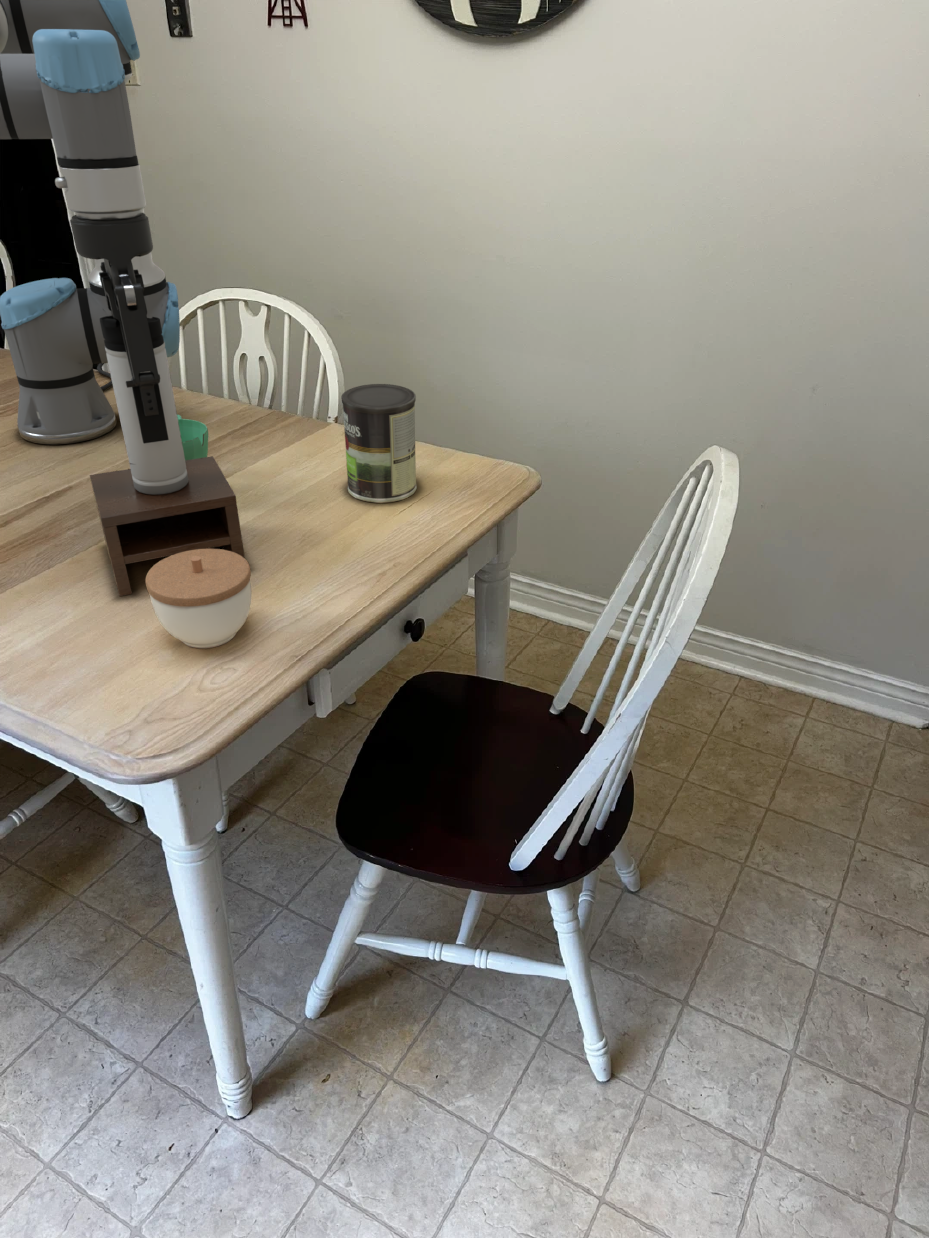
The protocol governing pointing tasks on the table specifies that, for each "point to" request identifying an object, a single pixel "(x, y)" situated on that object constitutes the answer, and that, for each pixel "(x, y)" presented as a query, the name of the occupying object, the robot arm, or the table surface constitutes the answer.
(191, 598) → the trinket box
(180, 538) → the shelf
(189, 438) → the mug
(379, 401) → the coffee can
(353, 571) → the table surface
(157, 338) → the travel mug
